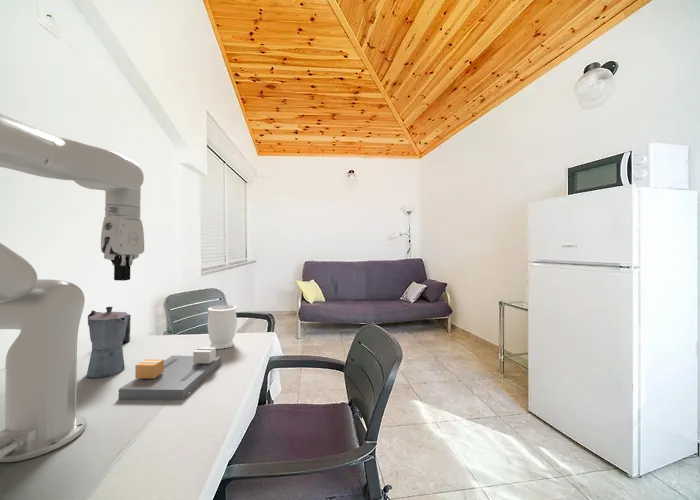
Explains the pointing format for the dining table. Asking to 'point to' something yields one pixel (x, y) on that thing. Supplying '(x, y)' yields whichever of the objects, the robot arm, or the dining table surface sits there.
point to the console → (170, 380)
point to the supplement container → (127, 331)
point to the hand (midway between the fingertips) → (122, 279)
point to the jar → (222, 325)
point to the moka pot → (106, 342)
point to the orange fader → (149, 368)
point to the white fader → (204, 355)
